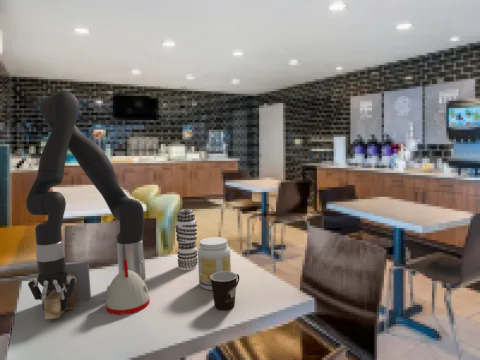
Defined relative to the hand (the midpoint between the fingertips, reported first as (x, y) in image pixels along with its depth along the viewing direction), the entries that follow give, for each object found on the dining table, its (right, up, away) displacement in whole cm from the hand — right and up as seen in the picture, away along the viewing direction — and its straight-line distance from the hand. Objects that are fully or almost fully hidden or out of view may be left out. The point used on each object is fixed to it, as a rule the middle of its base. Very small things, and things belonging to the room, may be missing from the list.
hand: (55, 310), depth 111 cm
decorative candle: (+35, +3, +44) cm, 56 cm away
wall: (-2, -1, +14) cm, 14 cm away
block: (-1, -2, +8) cm, 8 cm away
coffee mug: (+53, -1, +6) cm, 54 cm away
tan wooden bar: (0, -1, +3) cm, 3 cm away
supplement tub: (+48, +1, +24) cm, 53 cm away
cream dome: (+20, -2, +9) cm, 22 cm away
